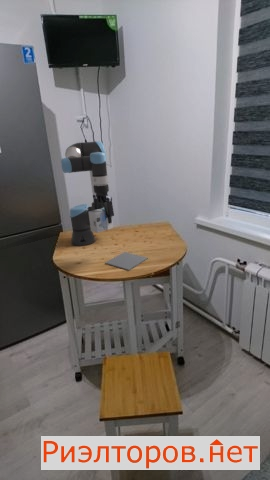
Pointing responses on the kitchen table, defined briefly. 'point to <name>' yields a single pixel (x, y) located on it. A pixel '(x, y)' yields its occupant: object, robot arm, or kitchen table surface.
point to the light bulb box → (98, 220)
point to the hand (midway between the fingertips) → (105, 227)
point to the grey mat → (126, 261)
